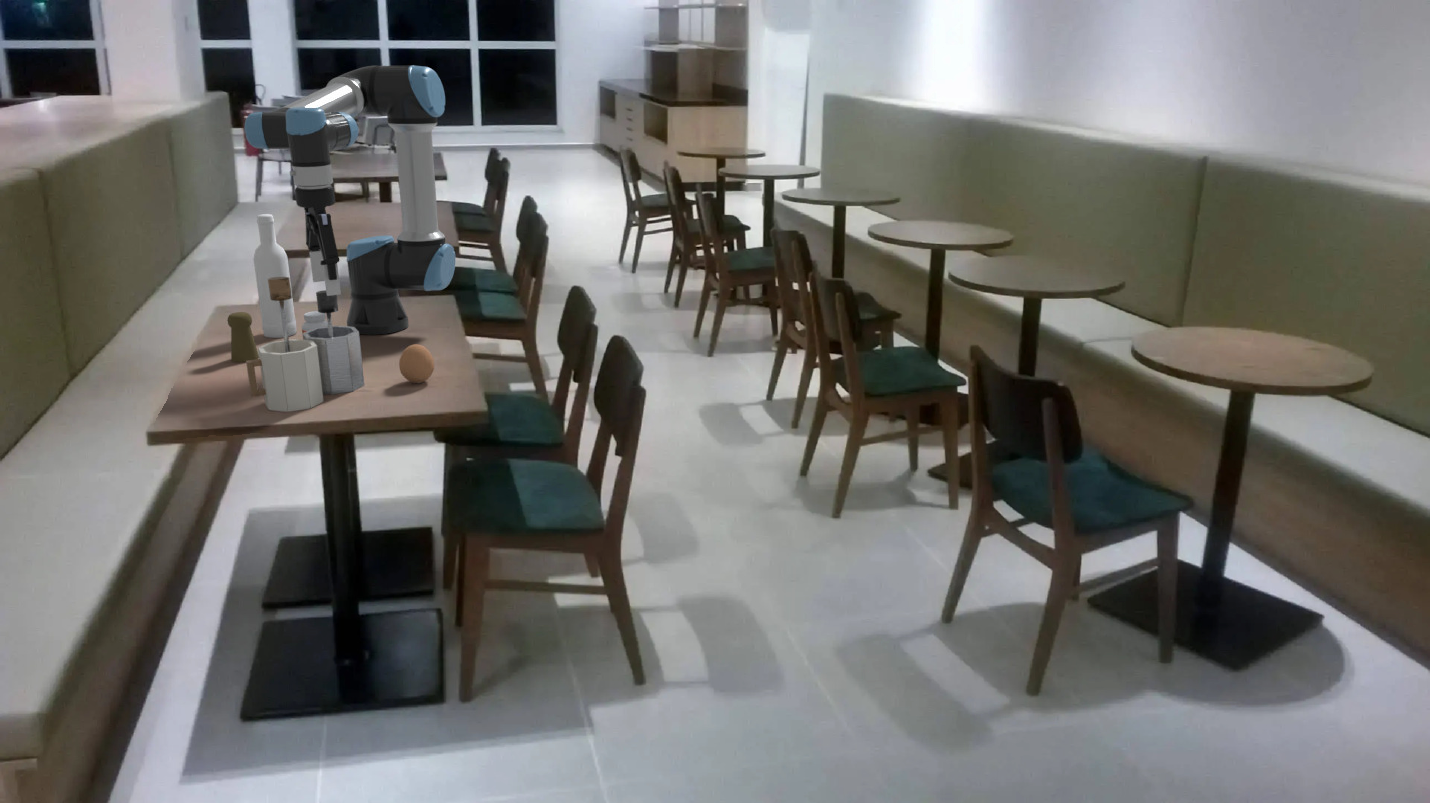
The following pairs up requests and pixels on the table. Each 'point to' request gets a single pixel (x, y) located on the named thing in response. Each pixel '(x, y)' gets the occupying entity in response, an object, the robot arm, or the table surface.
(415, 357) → the egg
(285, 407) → the white faceted mug
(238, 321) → the cork
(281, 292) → the plunger
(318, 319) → the pill bottle
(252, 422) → the table surface
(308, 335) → the grey octagonal container
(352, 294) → the robot arm
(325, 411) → the table surface
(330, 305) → the plunger
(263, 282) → the bottle
